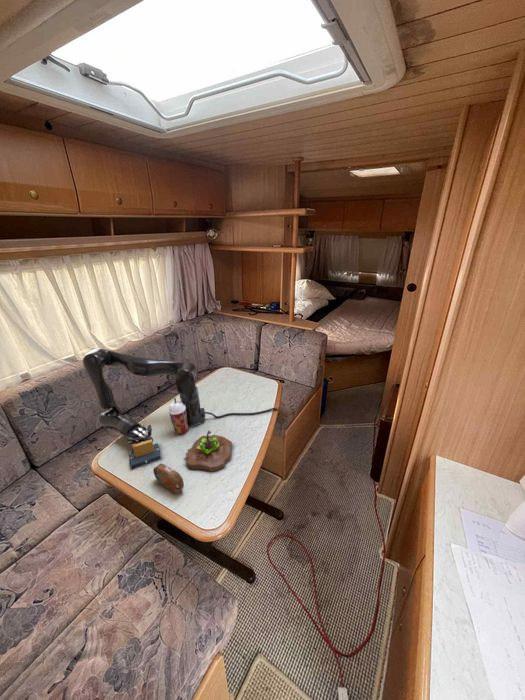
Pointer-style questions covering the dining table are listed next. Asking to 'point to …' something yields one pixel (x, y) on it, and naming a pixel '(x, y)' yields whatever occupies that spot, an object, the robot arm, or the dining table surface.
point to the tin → (168, 478)
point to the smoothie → (178, 416)
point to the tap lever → (143, 448)
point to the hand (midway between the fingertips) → (151, 441)
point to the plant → (209, 453)
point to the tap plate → (145, 457)
